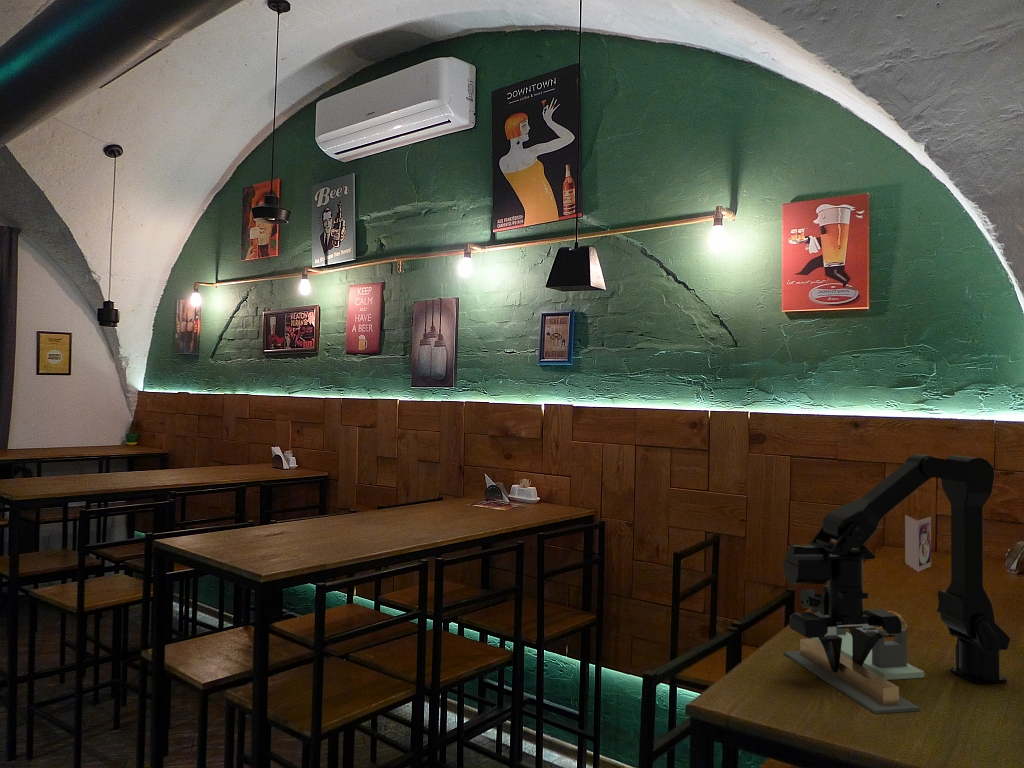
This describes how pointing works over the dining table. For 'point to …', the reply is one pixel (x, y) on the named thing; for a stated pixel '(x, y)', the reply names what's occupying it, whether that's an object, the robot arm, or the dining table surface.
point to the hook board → (879, 670)
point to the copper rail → (853, 674)
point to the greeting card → (918, 543)
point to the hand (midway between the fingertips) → (845, 671)
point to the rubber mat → (851, 688)
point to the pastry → (904, 625)
